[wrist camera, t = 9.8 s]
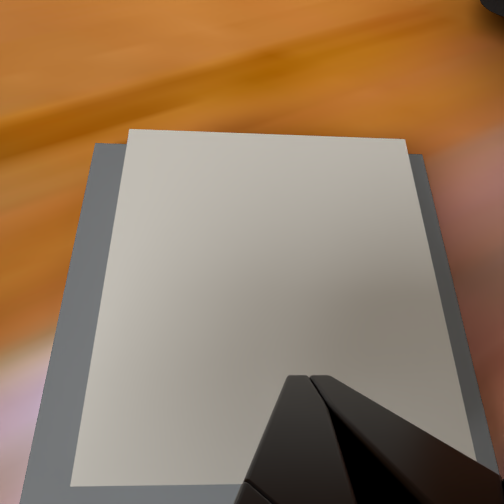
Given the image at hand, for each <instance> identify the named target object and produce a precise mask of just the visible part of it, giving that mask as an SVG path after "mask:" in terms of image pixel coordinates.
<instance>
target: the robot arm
mask: <svg viewBox="0 0 504 504" xmlns="http://www.w3.org/2000/svg"><path fill="white" fill-rule="evenodd" d="M233 504H504V479H503V480H502V478H501V476H500V475H499V474H497V473H495V472H494V471H492V470H490V469H488V468H487V467H485V466H483V465H482V464H480V463H478V462H477V461H475V460H473V459H471V458H470V457H468V456H466V455H465V454H463V453H461V452H460V451H458V450H456V449H454V448H453V447H451V446H449V445H448V444H446V443H444V442H442V441H441V440H439V439H437V438H436V437H434V436H432V435H431V434H429V433H427V432H425V431H424V430H422V429H420V428H419V427H417V426H415V425H414V424H412V423H410V422H408V421H407V420H405V419H403V418H402V417H400V416H398V415H396V414H395V413H393V412H391V411H390V410H388V409H386V408H385V407H383V406H381V405H379V404H378V403H376V402H374V401H373V400H371V399H369V398H368V397H366V396H364V395H362V394H361V393H359V392H357V391H356V390H354V389H352V388H350V387H349V386H347V385H345V384H344V383H342V382H340V381H339V380H337V379H335V378H333V377H332V376H329V375H311V376H310V377H308V376H307V375H288V376H287V378H286V380H285V382H284V385H283V387H282V389H281V392H280V394H279V397H278V399H277V401H276V404H275V406H274V409H273V411H272V413H271V416H270V418H269V421H268V423H267V425H266V428H265V430H264V433H263V435H262V437H261V440H260V442H259V445H258V447H257V449H256V452H255V454H254V457H253V459H252V461H251V464H250V466H249V469H248V471H247V473H246V476H245V478H244V481H243V483H242V484H241V486H240V489H239V491H238V493H237V496H236V498H235V501H234V503H233Z"/></svg>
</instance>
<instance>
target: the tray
mask: <svg viewBox="0 0 504 504" xmlns="http://www.w3.org/2000/svg"><path fill="white" fill-rule="evenodd" d="M480 1H481V3H482V5H483V6H484V7H486V8H487V9H488V10H490V11H491V12H494V13H496V14H498V15H501V16H504V0H480Z"/></svg>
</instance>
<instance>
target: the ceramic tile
mask: <svg viewBox="0 0 504 504" xmlns="http://www.w3.org/2000/svg"><path fill="white" fill-rule="evenodd" d="M288 375H307V376H308V377H310V376H311V375H329V376H332V377H333V378H335V379H337V380H339V381H340V382H342V383H344V384H345V385H347V386H349V387H350V388H352V389H354V390H356V391H357V392H359V393H361V394H362V395H364V396H366V397H368V398H369V399H371V400H373V401H374V402H376V403H378V404H379V405H381V406H383V407H385V408H386V409H388V410H390V411H391V412H393V413H395V414H396V415H398V416H400V417H402V418H403V419H405V420H407V421H408V422H410V423H412V424H414V425H415V426H417V427H419V428H420V429H422V430H424V431H425V432H427V433H429V434H431V435H432V436H434V437H436V438H437V439H439V440H441V441H442V442H444V443H446V444H448V445H449V446H451V447H453V448H454V449H456V450H458V451H460V452H461V453H463V454H465V455H466V456H468V457H470V458H471V459H473V460H475V461H477V460H476V456H475V451H474V447H473V442H472V438H471V433H470V429H469V424H468V420H467V415H466V411H465V406H464V402H463V397H462V393H461V389H460V384H459V380H458V375H457V371H456V366H455V362H454V357H453V353H452V348H451V344H450V339H449V335H448V330H447V326H446V321H445V317H444V312H443V308H442V303H441V299H440V294H439V290H438V285H437V281H436V277H435V272H434V268H433V263H432V259H431V254H430V250H429V245H428V241H427V236H426V232H425V227H424V223H423V218H422V214H421V209H420V205H419V200H418V196H417V191H416V187H415V182H414V178H413V173H412V169H411V165H410V160H409V156H408V151H407V147H406V142H405V139H384V138H357V137H330V136H303V135H276V134H249V133H221V132H194V131H167V130H140V129H129V135H128V141H127V147H126V153H125V159H124V165H123V171H122V177H121V183H120V189H119V195H118V201H117V207H116V213H115V219H114V225H113V231H112V237H111V243H110V249H109V255H108V261H107V267H106V273H105V279H104V285H103V291H102V297H101V303H100V310H99V316H98V322H97V328H96V334H95V340H94V346H93V352H92V358H91V364H90V370H89V376H88V382H87V388H86V394H85V400H84V406H83V412H82V418H81V424H80V430H79V436H78V442H77V448H76V454H75V460H74V466H73V472H72V478H71V484H70V487H75V486H145V485H216V484H242V483H243V481H244V478H245V476H246V473H247V471H248V469H249V466H250V464H251V461H252V459H253V457H254V454H255V452H256V449H257V447H258V445H259V442H260V440H261V437H262V435H263V433H264V430H265V428H266V425H267V423H268V421H269V418H270V416H271V413H272V411H273V409H274V406H275V404H276V401H277V399H278V397H279V394H280V392H281V389H282V387H283V385H284V382H285V380H286V378H287V376H288Z"/></svg>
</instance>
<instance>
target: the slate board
mask: <svg viewBox="0 0 504 504" xmlns="http://www.w3.org/2000/svg"><path fill="white" fill-rule="evenodd" d="M126 147H127V144H104V143H95V147H94V152H93V157H92V162H91V167H90V171H89V176H88V181H87V186H86V190H85V195H84V200H83V205H82V209H81V214H80V219H79V224H78V228H77V233H76V238H75V243H74V247H73V252H72V257H71V262H70V266H69V271H68V276H67V281H66V285H65V290H64V295H63V300H62V304H61V309H60V314H59V319H58V323H57V328H56V333H55V338H54V342H53V347H52V352H51V357H50V361H49V366H48V371H47V376H46V380H45V385H44V390H43V395H42V399H41V404H40V409H39V414H38V418H37V423H36V428H35V433H34V437H33V442H32V447H31V452H30V456H29V461H28V466H27V471H26V475H25V480H24V485H23V490H22V494H21V499H20V504H233V503H234V501H235V498H236V496H237V493H238V491H239V489H240V486H241V484H216V485H145V486H75V487H70V484H71V478H72V472H73V466H74V460H75V454H76V448H77V442H78V436H79V430H80V424H81V418H82V412H83V406H84V400H85V394H86V388H87V382H88V376H89V370H90V364H91V358H92V352H93V346H94V340H95V334H96V328H97V322H98V316H99V310H100V303H101V297H102V291H103V285H104V279H105V273H106V267H107V261H108V255H109V249H110V243H111V237H112V231H113V225H114V219H115V213H116V207H117V201H118V195H119V189H120V183H121V177H122V171H123V165H124V159H125V153H126ZM408 156H409V160H410V165H411V169H412V173H413V178H414V182H415V187H416V191H417V196H418V200H419V205H420V209H421V214H422V218H423V223H424V227H425V232H426V236H427V241H428V245H429V250H430V254H431V259H432V263H433V268H434V272H435V277H436V281H437V285H438V290H439V294H440V299H441V303H442V308H443V312H444V317H445V321H446V326H447V330H448V335H449V339H450V344H451V348H452V353H453V357H454V362H455V366H456V371H457V375H458V380H459V384H460V389H461V393H462V397H463V402H464V406H465V411H466V415H467V420H468V424H469V429H470V433H471V438H472V442H473V447H474V451H475V456H476V460H477V462H478V463H480V464H482V465H483V466H485V467H487V468H488V469H490V470H492V471H494V472H495V473H497V474H499V470H498V466H497V462H496V458H495V454H494V449H493V445H492V441H491V437H490V433H489V429H488V425H487V421H486V416H485V412H484V408H483V404H482V400H481V396H480V392H479V388H478V383H477V379H476V375H475V371H474V367H473V363H472V359H471V354H470V350H469V346H468V342H467V338H466V334H465V330H464V326H463V321H462V317H461V313H460V309H459V305H458V301H457V297H456V293H455V288H454V284H453V280H452V276H451V272H450V268H449V264H448V260H447V255H446V251H445V247H444V243H443V239H442V235H441V231H440V226H439V222H438V218H437V214H436V210H435V206H434V202H433V198H432V193H431V189H430V185H429V181H428V177H427V173H426V169H425V165H424V160H423V156H422V154H408ZM499 475H500V474H499Z"/></svg>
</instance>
